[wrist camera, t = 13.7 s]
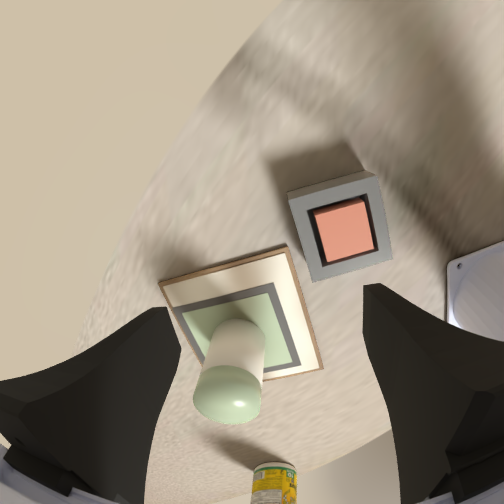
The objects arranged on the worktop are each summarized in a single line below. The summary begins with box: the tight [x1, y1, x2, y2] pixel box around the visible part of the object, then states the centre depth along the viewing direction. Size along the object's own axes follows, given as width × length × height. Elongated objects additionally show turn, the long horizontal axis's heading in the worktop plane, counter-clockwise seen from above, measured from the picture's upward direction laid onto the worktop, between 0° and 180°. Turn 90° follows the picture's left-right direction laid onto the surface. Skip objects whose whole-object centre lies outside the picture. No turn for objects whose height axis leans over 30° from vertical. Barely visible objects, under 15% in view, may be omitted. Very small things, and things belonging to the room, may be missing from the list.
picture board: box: [158, 246, 324, 382], centre depth 22 cm, size 10×11×1 cm
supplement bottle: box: [251, 462, 297, 504], centre depth 26 cm, size 5×5×10 cm
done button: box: [313, 197, 374, 262], centre depth 16 cm, size 3×3×1 cm
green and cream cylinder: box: [193, 319, 266, 424], centre depth 19 cm, size 4×4×6 cm
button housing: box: [287, 170, 393, 283], centre depth 17 cm, size 5×5×2 cm
